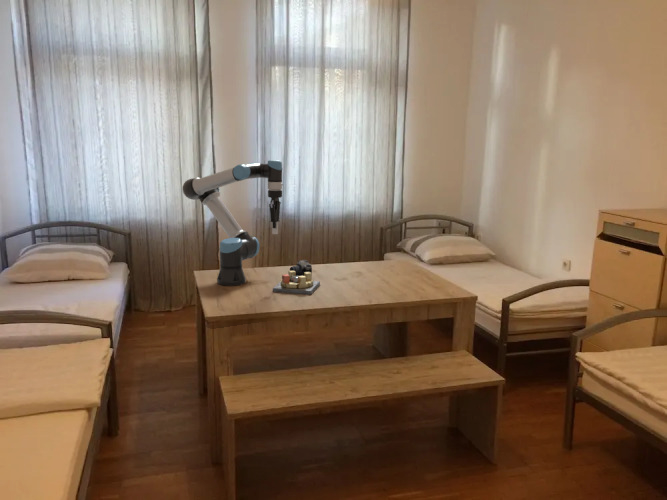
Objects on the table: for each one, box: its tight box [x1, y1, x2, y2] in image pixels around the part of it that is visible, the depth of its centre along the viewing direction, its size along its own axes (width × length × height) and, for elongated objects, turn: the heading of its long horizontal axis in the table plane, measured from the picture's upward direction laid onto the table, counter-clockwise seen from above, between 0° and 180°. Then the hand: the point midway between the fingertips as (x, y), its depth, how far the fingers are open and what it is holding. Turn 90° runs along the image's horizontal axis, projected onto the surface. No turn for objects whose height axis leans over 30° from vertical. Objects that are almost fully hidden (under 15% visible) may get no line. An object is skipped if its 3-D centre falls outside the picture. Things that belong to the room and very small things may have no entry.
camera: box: [289, 259, 313, 276], centre depth 322 cm, size 16×10×10 cm, turn 27°
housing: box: [272, 276, 321, 295], centre depth 300 cm, size 20×20×6 cm
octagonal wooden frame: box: [280, 270, 314, 288], centre depth 300 cm, size 16×16×6 cm
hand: (275, 233), depth 308 cm, fingers closed
